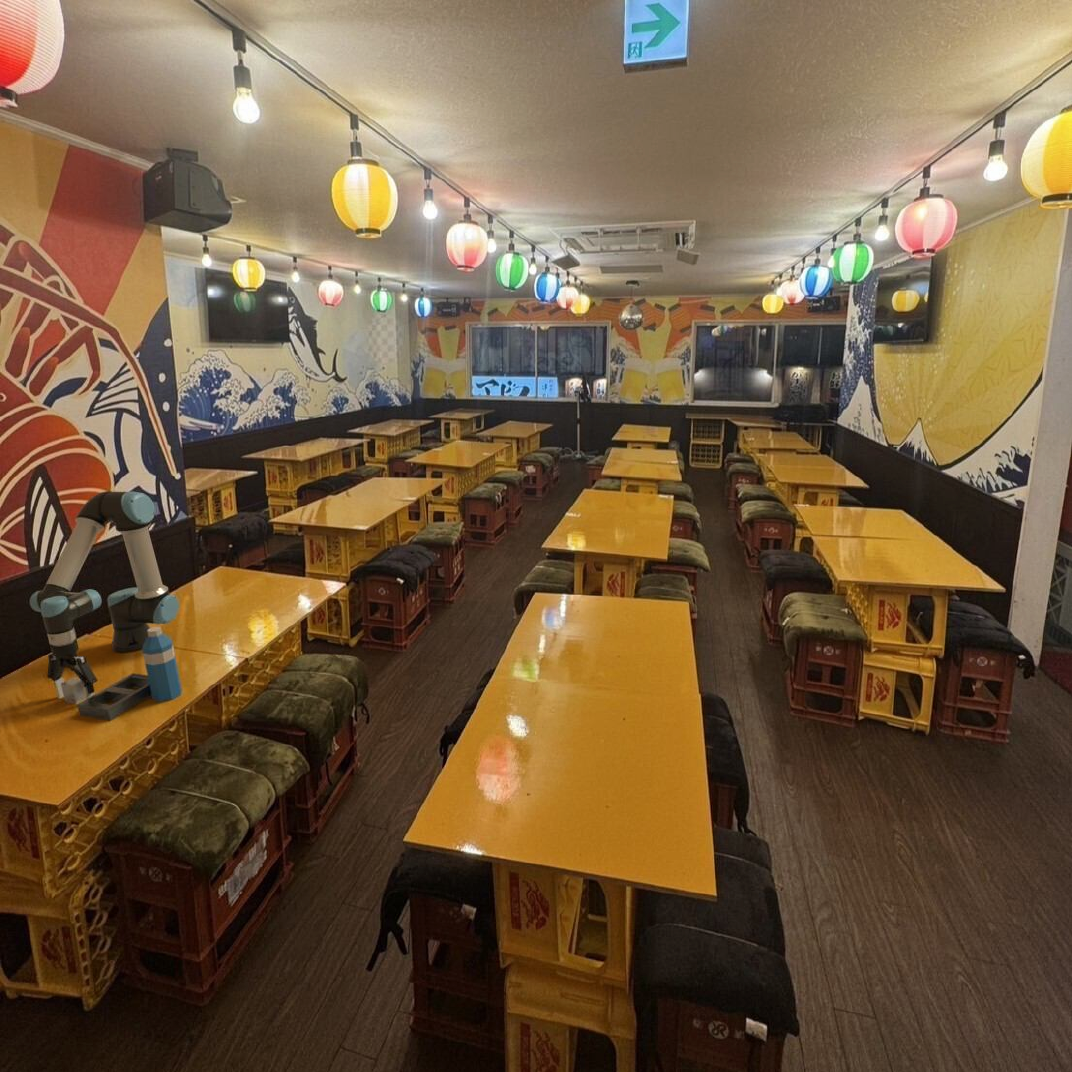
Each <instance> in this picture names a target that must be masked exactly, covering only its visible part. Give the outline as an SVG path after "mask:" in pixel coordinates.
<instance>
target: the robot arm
mask: <svg viewBox="0 0 1072 1072" xmlns="http://www.w3.org/2000/svg"><path fill="white" fill-rule="evenodd" d="M155 511H156V510H155V504H154V502H153V501H152V499H151V498H150V496H148V495H146V493H142V492H137V491H111V490H110V491H109V490H108V491H107V490H106V491H103V492H102V491H101V492H100V493H96V494H95V495H94V496H92V497H91V498H90V499H89V500H88V501H86V502H85V504H84V505H82V507H81V509H80V510H79V512H78V514H77V516H76V518H75V519H74V521H75V523H76V524H75V527H74V528H73V530H72V532H71V534H70V537H68V539H67V542H66V544H65V546H64V548H63V550H62V551H61V554H60V555H59V558H58V560H57V561H56V563H55V566H54V568H53V569H52V571H51V573H50V574H49V575H50V576H49V577H48V579H47V581H46V583H45V586H44V587H43V588H42V590H38V591H35V592H34V593H33V594H32V595H31V596H30V599H29V605H30V607H31V609H32V610H33V611H35V612H39V613H40V614H41V616H42V620H43V624H44V627H45V630H46V635H47V638H48V642H49V645H50V646H49V647H50V651H51V653H49V654H48V655H47V656H48V667H47V675H46V676H47V679H51V681H52V682H53V685H54V687H55V690H56V693H57V698H58V699H62V698H64V695H63V691H62V687H61V683H63V682H65V680H64V677H63V673H64V671H65V669H70V671H71V672H74V674H76V676H77V677H78V678H80V680H81V681H82V682H83V683H84V684H85V685H84V686H83V688H84V692H85V696H86V699H88V698H90V697H92V696H93V695H95V694H96V693H95V687H94V683H97V682H98V678H97V677H96V675H95V674H94V671H93V669H92V668H91V666H90V664H89V663H88V661H87V657H86V656H85V655H82V656H79V655H78V654H77V652H78V651H79V644H78V640H77V633H76V630H75V627H74V622H73V621H74V620H76V619H78V618H80V617H82V616H84V615H86V614H90V613H93V612H94V611H95V610H96V609H98V608H100V607H101V605H102V597H101V595H100V593H99V592H98V591H97V590H94V589H91V588H90V589H85V590H81V591H80V592H71V590H72V588H73V585H74V584H75V582H76V580H77V577H78V575H79V574H80V571H81V569H82V567H83V565H84V563H86V562H85V561H86V559H87V557H88V555H89V553H90V551H91V549H92V547H93V546H94V543H95V541H96V540H97V537H98V535H99V534H100V532H102V531H104V530H105V529H106V526H107V524H109V523H114V526H115V530H116V531H117V532H118V533H120V534H121V535H122V538H123V541H124V545H125V548H126V552H127V555H128V559H129V562H130V566H131V570H132V573H133V577H134V581H135V584H136V587H129V588H124V589H122V590H117V591H116V592H113V593H111V594H109V595H108V597H107V607H108V611H109V615H110V621H111V624H112V627H113V636H112V642H111V646H112V651H114V652H116V653H131V652H136V651H140V650H142V647H143V645H144V643H145V641H146V639H147V637H148V632H147V631H148V629H150V628H151V627H150V626H149V624H154V625H167V624H170V623H171V622H173V621H174V620H175V618H176V617H177V616H178V613H179V608H180V601H179V599H178V597H177V596H175V595H174V594H170V591H169V587H168V586H166V585H164V584H163V581H162V577H161V573H160V569H159V566H158V562H157V558H156V555H155V551H154V546H153V544H152V540H151V536H150V531H149V528H150V526H151V525H152V522H151V521H153V519H154V517H155ZM86 699H85V700H86Z"/></svg>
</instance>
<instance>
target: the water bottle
mask: <svg viewBox="0 0 1072 1072" xmlns="http://www.w3.org/2000/svg"><path fill="white" fill-rule="evenodd" d="M147 632H148V637H147V639H146V641H145V643H144V645H143V647H142V649H141V651H142V654H143V655H142V656H143V659H144V665H145V669H146V675H148V679H149V684H150V689H151V693H152V695H151V697H152V701H154V702H158V703H163V702H167V701H173V700H175V699H176V698H178V697H180V696H182V693H183V689H182V683H181V679H180V678H181V677H180V674H179V669H178V665H177V658H176V653H175V649H174V643H173V640H172V639H171V638H170V637H169V636H167V634H165V633H163V632H162V627H160V626H154V627H150V629H148V631H147Z"/></svg>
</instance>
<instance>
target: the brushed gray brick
mask: <svg viewBox="0 0 1072 1072" xmlns="http://www.w3.org/2000/svg"><path fill="white" fill-rule="evenodd" d="M84 685H85V684H84V683H83V682H82V681H81V680H80V678H79V677H78V676H77V677H76V676H74V677H71V678H69V679H68V680H64V682H63V683H61V687H62V691H63V695H64V697H63V698H64V702H65V703H68V704H75V705H77V704H79V703H81V702H83V701H85V700H86V696H85V692H84V688H83V686H84Z"/></svg>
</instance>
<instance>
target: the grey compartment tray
mask: <svg viewBox="0 0 1072 1072" xmlns="http://www.w3.org/2000/svg"><path fill="white" fill-rule="evenodd" d="M132 688H135V689H132ZM94 694H95V695H93V696H92V697H90V698H88V699H84V700H83V701H81V702H79V703H77V704H76V705H77V709H78V714H79V716H81V717H88V718H94V719H99V720H104V721H112V720H114V719H115V718H117V717H119V716H121V715H122V714H124V713H125V712H127V711H129V710H131V709H132V708H134V707H135V706H137V705H139V704H140V703H141V702H143V701H145V700H146V699H148V698H150V697H152V693H151V689H150V684H149V679H148V675H147V674H140V673H134V672H133V673H131V674H129V675H128V676H125V677H123V678H122V679H119V681H116V682H115V683H114V684H111V685H110V686H108V687H106V688H104V689H103V690H100V691H99V692H97V693H94ZM108 702H109V703H110V702H111V703H112V704H107V703H108Z"/></svg>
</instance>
